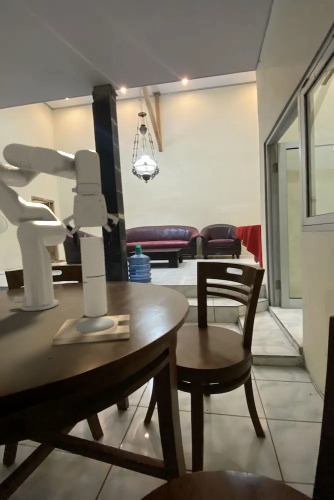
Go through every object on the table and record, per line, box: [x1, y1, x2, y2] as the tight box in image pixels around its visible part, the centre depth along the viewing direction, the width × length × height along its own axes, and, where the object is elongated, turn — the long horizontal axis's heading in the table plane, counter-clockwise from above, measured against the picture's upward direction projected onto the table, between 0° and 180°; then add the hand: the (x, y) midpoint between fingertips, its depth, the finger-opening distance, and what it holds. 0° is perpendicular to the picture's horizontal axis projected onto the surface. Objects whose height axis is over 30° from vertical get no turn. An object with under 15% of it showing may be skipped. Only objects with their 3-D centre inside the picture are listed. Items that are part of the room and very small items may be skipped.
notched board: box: [52, 314, 131, 346], centre depth 70 cm, size 18×14×2 cm
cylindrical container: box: [79, 236, 108, 318], centre depth 85 cm, size 7×7×25 cm
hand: (92, 245), depth 84 cm, fingers open, 9 cm apart
